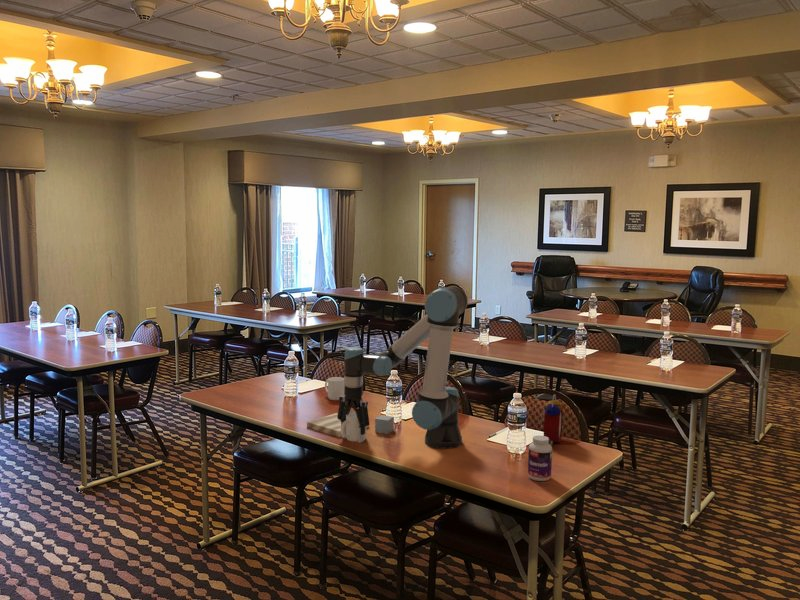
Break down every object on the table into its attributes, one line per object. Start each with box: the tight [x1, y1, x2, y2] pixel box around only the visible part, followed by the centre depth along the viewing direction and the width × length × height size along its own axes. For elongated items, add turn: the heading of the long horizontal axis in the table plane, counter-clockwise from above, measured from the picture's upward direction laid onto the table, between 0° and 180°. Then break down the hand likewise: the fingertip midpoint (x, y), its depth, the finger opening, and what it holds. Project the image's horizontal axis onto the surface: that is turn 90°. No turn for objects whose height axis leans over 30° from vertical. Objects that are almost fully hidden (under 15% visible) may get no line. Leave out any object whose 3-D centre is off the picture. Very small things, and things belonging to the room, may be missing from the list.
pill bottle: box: [527, 435, 553, 482], centre depth 222 cm, size 8×8×14 cm
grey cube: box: [374, 414, 395, 435], centre depth 272 cm, size 6×6×6 cm
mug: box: [341, 411, 367, 443], centre depth 261 cm, size 12×8×10 cm
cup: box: [324, 376, 345, 401], centre depth 326 cm, size 8×12×10 cm
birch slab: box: [306, 412, 370, 438], centre depth 277 cm, size 20×18×3 cm
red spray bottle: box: [538, 394, 564, 447], centre depth 259 cm, size 15×9×20 cm, turn 160°
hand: (352, 439), depth 261 cm, fingers closed on mug, 8 cm apart
